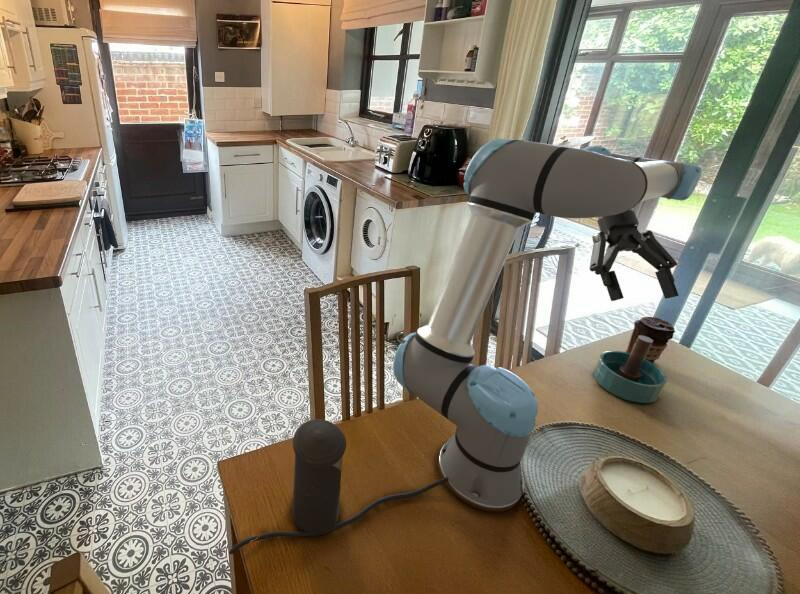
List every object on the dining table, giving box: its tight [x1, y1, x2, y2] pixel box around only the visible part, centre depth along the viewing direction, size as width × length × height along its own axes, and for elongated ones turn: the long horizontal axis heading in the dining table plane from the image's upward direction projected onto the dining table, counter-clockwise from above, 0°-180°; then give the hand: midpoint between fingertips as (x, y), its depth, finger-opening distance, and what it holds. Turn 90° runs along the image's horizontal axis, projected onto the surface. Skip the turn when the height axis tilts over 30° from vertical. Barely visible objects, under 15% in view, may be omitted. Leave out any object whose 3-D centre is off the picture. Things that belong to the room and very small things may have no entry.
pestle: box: [617, 335, 653, 383], centre depth 101 cm, size 4×4×14 cm
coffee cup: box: [625, 316, 676, 365], centre depth 110 cm, size 9×8×13 cm
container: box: [291, 418, 347, 537], centre depth 70 cm, size 9×9×20 cm
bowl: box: [593, 350, 668, 404], centre depth 103 cm, size 13×13×6 cm
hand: (644, 298), depth 94 cm, fingers open, 13 cm apart
